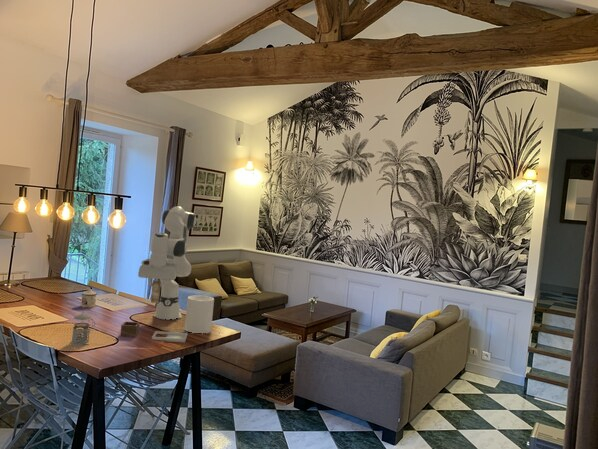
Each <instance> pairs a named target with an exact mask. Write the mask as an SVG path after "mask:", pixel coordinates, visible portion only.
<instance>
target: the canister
mask: <svg viewBox="0 0 598 449" xmlns="http://www.w3.org/2000/svg"><path fill="white" fill-rule="evenodd" d="M186 301H187V302H186V304H187V305H186V312H185V321H184V331H185V330H186V331H189V332H192V333H191V334H193V333H202V334H201V335H204V334H203V333H206V334H210V333H211V331H212V327H213V326H212V323H213V314H214V305H215V304H214V303H215V298H214V297H212V296H208V295H201V294H200V295H199V294H198V295H197V294H195V295H189V296H188V297H187V300H186ZM186 331H185V332H186Z"/></svg>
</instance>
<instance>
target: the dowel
mask: <svg viewBox="0 0 598 449" xmlns="http://www.w3.org/2000/svg"><path fill="white" fill-rule="evenodd" d="M152 283H153V286H151V298H150V299H151V300H150V303H152V304H158V303H159V302H160V292H161V287H160V283H161V280H160V279H158V280H157V279H156V280H155V279H153V280H152Z"/></svg>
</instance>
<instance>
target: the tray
mask: <svg viewBox="0 0 598 449" xmlns="http://www.w3.org/2000/svg"><path fill="white" fill-rule="evenodd" d="M188 334H189V333H188V332H177V331H163V330H162V331H160V330H155V331H154V332H153V334H152V336H151V340H154V341H155V340H158V341H164V342H167V343H169V342H170V343H186V341H187V338H188ZM157 335H166V336H164V337H163V336H157Z"/></svg>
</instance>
